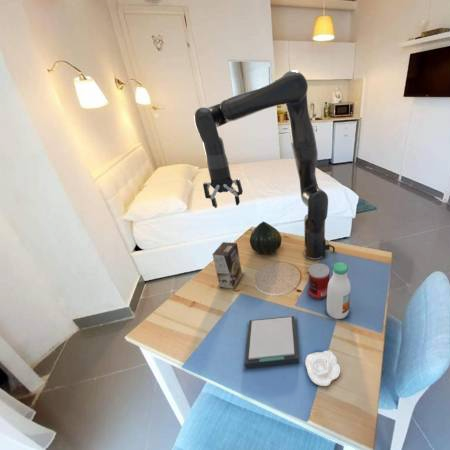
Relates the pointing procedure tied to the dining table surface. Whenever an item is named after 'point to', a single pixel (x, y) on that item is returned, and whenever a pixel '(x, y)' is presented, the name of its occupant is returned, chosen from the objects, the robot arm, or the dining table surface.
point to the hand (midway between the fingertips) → (226, 206)
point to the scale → (271, 342)
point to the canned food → (318, 280)
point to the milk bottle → (338, 292)
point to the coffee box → (227, 264)
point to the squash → (265, 239)
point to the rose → (322, 367)
